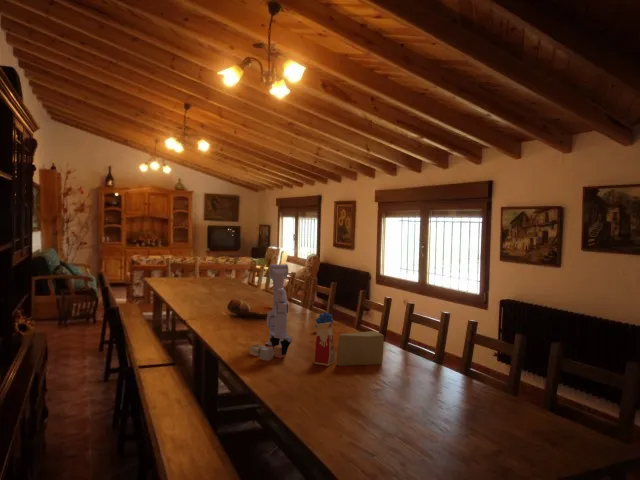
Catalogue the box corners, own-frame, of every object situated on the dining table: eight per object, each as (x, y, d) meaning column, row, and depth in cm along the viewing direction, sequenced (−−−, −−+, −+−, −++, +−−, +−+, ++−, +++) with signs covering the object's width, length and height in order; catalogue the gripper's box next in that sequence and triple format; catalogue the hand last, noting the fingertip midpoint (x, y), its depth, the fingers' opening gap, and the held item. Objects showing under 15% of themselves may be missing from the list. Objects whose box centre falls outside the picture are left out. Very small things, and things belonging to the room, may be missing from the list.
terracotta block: (280, 354, 244) (280, 344, 244) (286, 356, 241) (286, 346, 241) (273, 356, 241) (273, 346, 241) (279, 358, 238) (280, 348, 238)
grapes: (330, 329, 302) (330, 310, 301) (334, 332, 295) (335, 312, 295) (312, 330, 297) (313, 310, 297) (316, 332, 291) (317, 313, 291)
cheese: (341, 368, 225) (342, 337, 224) (333, 362, 234) (334, 332, 233) (383, 365, 233) (384, 334, 232) (374, 359, 242) (375, 329, 241)
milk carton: (335, 360, 237) (336, 320, 236) (329, 366, 228) (331, 324, 227) (317, 358, 240) (319, 318, 239) (311, 363, 231) (312, 322, 230)
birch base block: (257, 351, 248) (257, 344, 247) (265, 354, 244) (266, 346, 244) (248, 354, 243) (249, 346, 243) (257, 356, 239) (257, 348, 239)
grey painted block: (265, 357, 239) (265, 347, 239) (272, 358, 237) (273, 348, 237) (260, 359, 235) (260, 349, 235) (267, 360, 233) (268, 350, 233)
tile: (269, 347, 256) (269, 346, 256) (278, 350, 251) (278, 349, 251) (259, 349, 250) (259, 348, 250) (268, 352, 246) (268, 351, 246)
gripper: (265, 324, 242) (264, 351, 243) (285, 330, 233) (284, 358, 233) (275, 322, 247) (274, 348, 248) (295, 328, 238) (294, 355, 239)
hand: (279, 353), depth 241 cm, fingers open, 5 cm apart
